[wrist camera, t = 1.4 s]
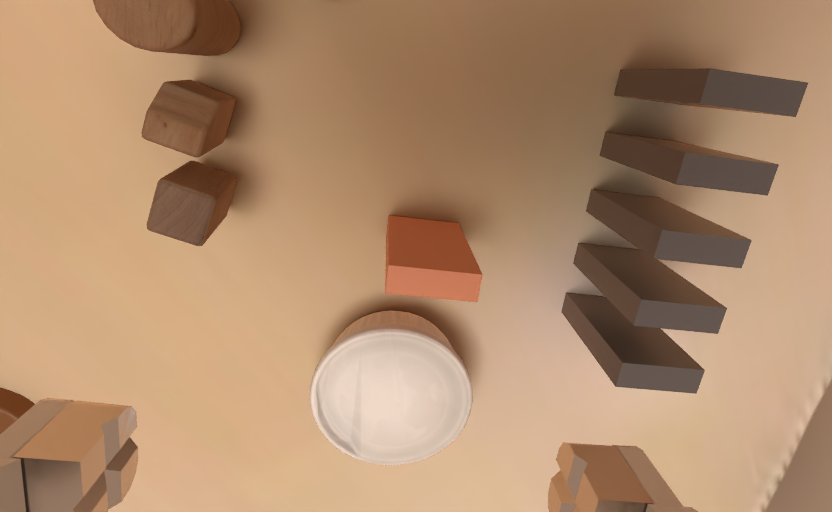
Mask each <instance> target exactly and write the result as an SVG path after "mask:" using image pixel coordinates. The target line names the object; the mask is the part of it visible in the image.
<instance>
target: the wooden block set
mask: <svg viewBox="0 0 832 512" xmlns="http://www.w3.org/2000/svg"><path fill="white" fill-rule="evenodd" d="M93 2H94V5H95V8H96V11H97V13H98V14H99V16H100V18H101V19H102V21H103V22H104V24H105V25H106V26H107V27H108V28H109V29H110V30H111V31H112V32H113V33H114V34H115V35H116V36H117V37H119V38H120V39H121V40H123V41H125V42H127V43H129V44H131V45H132V46H134V47H137V48H141V49H145V50H149V51H154V52H167V53H179V54H191V55H203V56H217V55H220V54H223V53H226V52H228V51H229V50H230V49H231V48H232V47H234V46H235V44H236V42H237V40H238V38H239V36H240V21H239V17H238V14H237V12H236V10H235V9H234V7H233V5H232V4H231V3H230V2H229V0H93ZM235 103H236V100H235V98H234V97H233V96H230V95H228V94H225V93H223V92H220V91H218V90H215V89H213V88H210V87H208V86H205V85H203V84H200V83H197V82H195V81H192V80H181V81H169V82H164V83H163V84H162V86H161V88H160V89H159V91H158V93H157V95H156V96H155V98H154V100H153V102H152V103H151V105H150V107H149V108H148V110H147V113H146V117H145V121H144V125H143V129H142V137H143V138H144V139H146V140H149V141H151V142H154V143H157V144H160V145H162V146H165V147H168V148H171V149H174V150H176V151H179V152H182V153H185V154H188V155H190V156H193V157H200V156H202V155H203V154H205V153H207V152H208V151H210V150H211V149H213V148H215V147H216V146H218V145H220V144H221V143H223V142H224V140H225V137H226V133H227V130H228V127H229V123H230V120H231V116H232V113H233V110H234V106H235ZM236 183H237V177H235V176H234V175H232V174H230V173H227V172H224V171H221V170H218V169H215V168H213V167H210V166H207V165H204V164H201V163H199V162H196V161H189V162H188V163H186V164H184V165H183V166H181V167H179V168H178V169H176V170H175V171H173V172H171V173H170V174H168V175H166V176H165V177H163V178H161V179H160V180H159V181H158V183H157V187H156V191H155V195H154V198H153V202H152V206H151V210H150V214H149V218H148V221H147V229H148V230H150V231H152V232H155V233H159V234H162V235H165V236H168V237H171V238H174V239H177V240H181V241H184V242H187V243H190V244H193V245H196V246H202V245H203V244H204V243H205V242H206V240H207V239H208V238H209V237H210V235H211V234H212V233H213V232H214V230H215V229H216V228H217V227H218V225H219V224H220V223H221V222H222V220H223V219H224V218H225V217H226V215H227V212H228V209H229V205H230V202H231V199H232V196H233V192H234V189H235V186H236Z"/></svg>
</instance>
